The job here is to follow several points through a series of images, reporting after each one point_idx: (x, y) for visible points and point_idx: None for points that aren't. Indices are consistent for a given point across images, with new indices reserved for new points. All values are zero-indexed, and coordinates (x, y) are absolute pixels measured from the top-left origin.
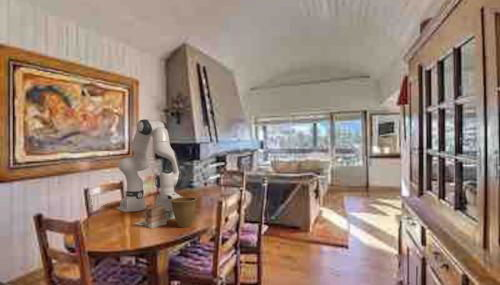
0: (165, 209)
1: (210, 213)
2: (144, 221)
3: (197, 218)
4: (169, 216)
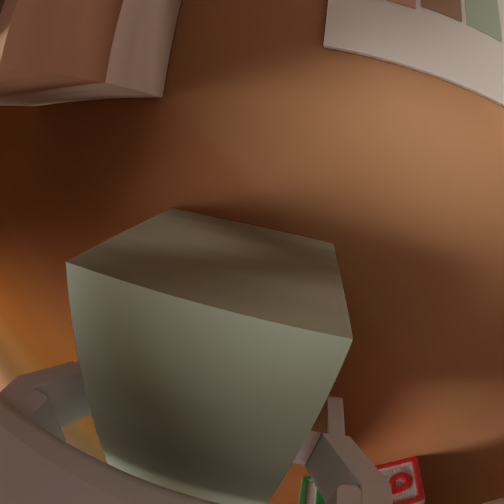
0: (165, 489)
1: None
2: (485, 26)
3: None
4: None
